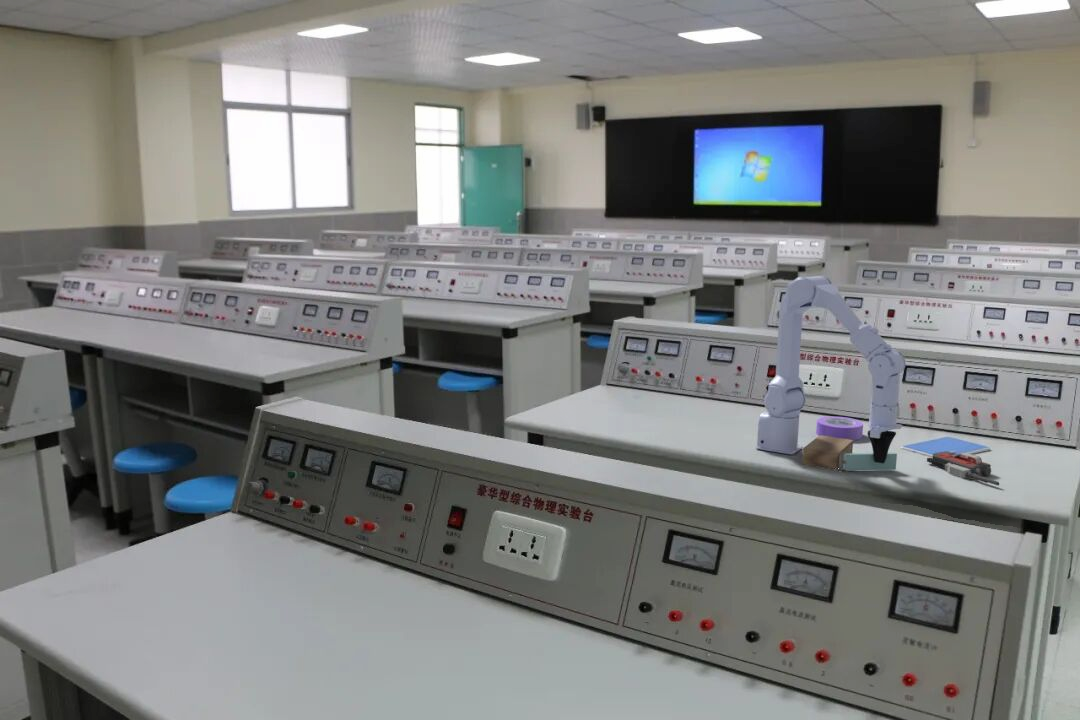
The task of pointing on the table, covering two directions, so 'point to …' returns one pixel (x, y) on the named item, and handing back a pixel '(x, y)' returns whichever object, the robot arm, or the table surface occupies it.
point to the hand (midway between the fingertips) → (879, 462)
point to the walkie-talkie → (963, 465)
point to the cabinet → (827, 452)
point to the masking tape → (839, 427)
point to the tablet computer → (945, 446)
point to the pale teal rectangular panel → (867, 462)
